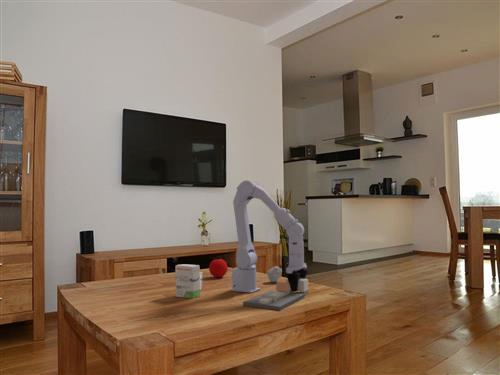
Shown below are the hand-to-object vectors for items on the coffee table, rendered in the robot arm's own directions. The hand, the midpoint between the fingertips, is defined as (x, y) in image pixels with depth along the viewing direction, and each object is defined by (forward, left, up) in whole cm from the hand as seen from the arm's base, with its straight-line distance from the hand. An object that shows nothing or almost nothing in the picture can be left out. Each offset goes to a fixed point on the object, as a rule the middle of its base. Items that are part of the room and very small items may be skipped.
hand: (297, 289), depth 142 cm
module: (0, 0, -1) cm, 1 cm away
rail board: (-2, -15, -1) cm, 15 cm away
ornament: (-48, +15, -2) cm, 50 cm away
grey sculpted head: (-18, +16, -2) cm, 24 cm away
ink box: (-35, -23, -2) cm, 42 cm away
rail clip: (-2, -8, +1) cm, 9 cm away
